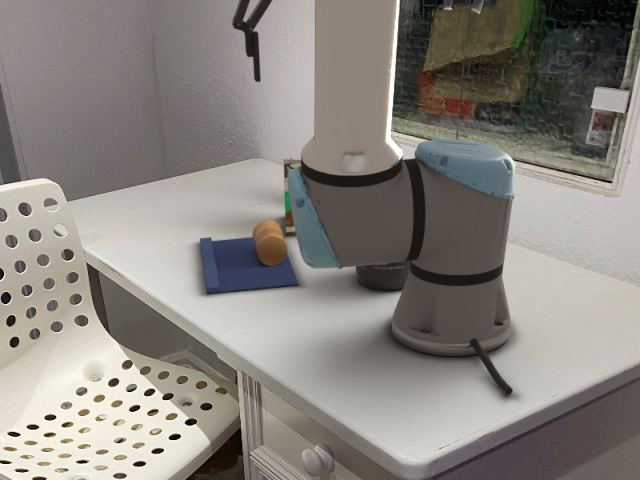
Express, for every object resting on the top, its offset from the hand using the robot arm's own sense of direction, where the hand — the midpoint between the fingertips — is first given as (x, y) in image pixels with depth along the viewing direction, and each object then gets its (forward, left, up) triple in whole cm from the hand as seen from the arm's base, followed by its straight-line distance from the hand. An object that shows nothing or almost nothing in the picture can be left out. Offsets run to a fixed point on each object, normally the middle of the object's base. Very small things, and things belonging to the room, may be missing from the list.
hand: (300, 77), depth 128 cm
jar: (-25, -9, -24) cm, 36 cm away
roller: (-12, +7, -22) cm, 25 cm away
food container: (+2, 0, -24) cm, 25 cm away
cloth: (-13, +11, -24) cm, 29 cm away
